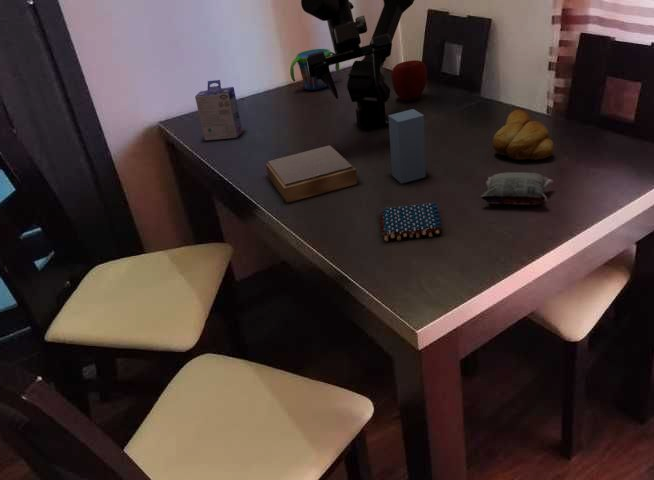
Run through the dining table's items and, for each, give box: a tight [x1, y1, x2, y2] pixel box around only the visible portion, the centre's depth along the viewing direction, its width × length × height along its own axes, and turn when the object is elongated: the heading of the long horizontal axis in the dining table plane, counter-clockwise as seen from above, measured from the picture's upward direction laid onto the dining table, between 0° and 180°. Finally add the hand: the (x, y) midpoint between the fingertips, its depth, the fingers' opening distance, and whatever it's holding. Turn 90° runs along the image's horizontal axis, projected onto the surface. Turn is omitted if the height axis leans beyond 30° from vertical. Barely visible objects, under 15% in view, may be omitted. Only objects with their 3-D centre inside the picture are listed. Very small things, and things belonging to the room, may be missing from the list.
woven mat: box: [380, 202, 443, 243], centre depth 115 cm, size 10×11×2 cm
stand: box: [265, 145, 358, 204], centre depth 138 cm, size 16×16×4 cm
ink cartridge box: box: [194, 79, 244, 142], centre depth 169 cm, size 10×6×14 cm, turn 79°
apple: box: [390, 59, 428, 102], centre depth 170 cm, size 10×10×10 cm
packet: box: [387, 108, 427, 184], centre depth 129 cm, size 6×5×13 cm
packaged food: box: [480, 171, 554, 206], centre depth 116 cm, size 9×12×5 cm
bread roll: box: [492, 108, 555, 161], centre depth 130 cm, size 13×10×8 cm
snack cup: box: [289, 48, 340, 91], centre depth 193 cm, size 16×10×10 cm
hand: (357, 92), depth 138 cm, fingers open, 9 cm apart
